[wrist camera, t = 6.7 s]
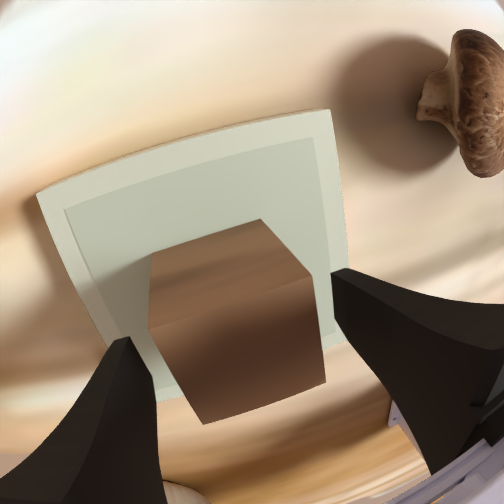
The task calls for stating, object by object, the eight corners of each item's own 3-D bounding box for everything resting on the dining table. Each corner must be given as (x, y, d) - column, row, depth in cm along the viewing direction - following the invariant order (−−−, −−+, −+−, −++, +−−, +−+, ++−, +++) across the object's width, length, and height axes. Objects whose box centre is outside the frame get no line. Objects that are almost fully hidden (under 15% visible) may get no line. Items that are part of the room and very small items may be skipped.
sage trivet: (337, 320, 19) (352, 338, 17) (144, 382, 17) (145, 405, 15) (311, 109, 13) (330, 109, 12) (50, 184, 12) (35, 194, 10)
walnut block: (280, 308, 15) (326, 382, 10) (188, 338, 14) (203, 424, 10) (260, 218, 13) (312, 275, 8) (151, 253, 12) (147, 329, 8)
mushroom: (399, 130, 11) (543, 136, 7) (391, 5, 12) (501, 0, 8) (428, 190, 18) (521, 198, 14) (426, 85, 18) (507, 86, 14)
